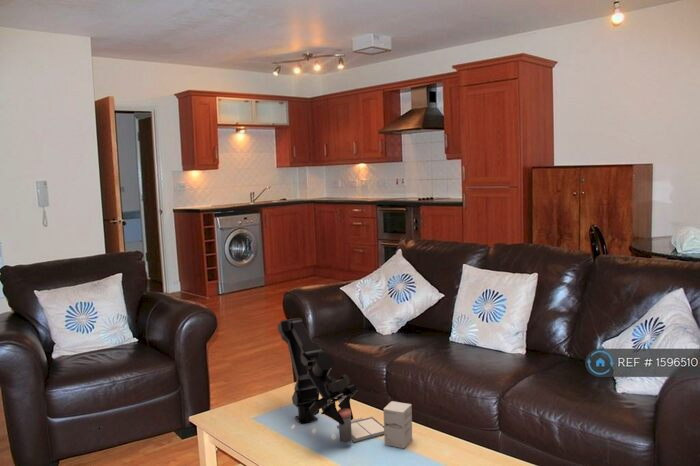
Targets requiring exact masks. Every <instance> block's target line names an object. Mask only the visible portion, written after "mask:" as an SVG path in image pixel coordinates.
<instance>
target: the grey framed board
mask: <svg viewBox="0 0 700 466" xmlns="http://www.w3.org/2000/svg"><path fill="white" fill-rule="evenodd" d="M336 428H337V429H338V430H339V424H338V425H337V426H336ZM351 431H352V441H351V442H352V443H354V444H358V443H360V442H364V441H368V440H371V439H376V438H380V437H383V435H384V424H382V423H381V422H379V421H378V420H377V419H376V418H374V416H370V417H366V418H362V417H359V418H355V419H354V418H353V420H351ZM379 436H380V437H379Z"/></svg>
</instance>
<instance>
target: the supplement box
mask: <svg viewBox="0 0 700 466" xmlns="http://www.w3.org/2000/svg"><path fill="white" fill-rule="evenodd" d="M412 405H413V404H411V403H405V402H399V401H393V400H391V401H390V402H389V403H388V404H387V405H386V406H385V407H384V408H383V426H384V438H383V439H384V446H390V447H395V448H400V449H403V448H405V447H406V448H407V447H408V445H409V444H410V443H411V442H412V441H411V440H413V416H412V415H413V414H412V413H413V412H412ZM410 441H411V442H410ZM409 442H410V443H409ZM408 443H409V444H408ZM406 448H405V449H406Z"/></svg>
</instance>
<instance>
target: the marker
mask: <svg viewBox="0 0 700 466" xmlns="http://www.w3.org/2000/svg"><path fill="white" fill-rule="evenodd" d="M351 410H352V409H351ZM351 410H350V409H348V408H342V409H340V408H339V409H338V410H337V411H338V412H339V414H340V416H341V417H342V419H343V421H344V424H343V425H342V424H340V423H338V425H339V429H338V430H339V442H341V443H343V444H344V443H350V442H352V431H351Z"/></svg>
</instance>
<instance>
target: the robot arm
mask: <svg viewBox="0 0 700 466" xmlns="http://www.w3.org/2000/svg"><path fill="white" fill-rule="evenodd" d="M277 330H278V333H279V335H280V337H281V339H282V341H283V342H285V343H286V344H287V347H288V351H289V355H290V360H291V363H292V367H293V370H294V374H295V379H296V382H295V384H294V389H293V393H292V394H293V395H292V396H291V400H292V404H293V406H295V408H297V413H298V415H296V416H295V419H296V420H297V421H298V422H299V423H300V424H301V425H304V424H307V423H312V422H316V421H318V417H317V416H316V415H318V414H321V415H324V416H327V417H328V418H330V419H332V420H334V421H335V422H337V423H338V424H339V423H340V424H342V425H343V424H344V421H343V419H342V417H341V416H340V414H339V412H338V410H337V407H338V408H339V409H342V408H348V409H350V410H351V420H354V413H353V411H352V407H351V398H352V397H354V395H355V394H356V393H358V391H359V389H358V387H357V386H356V384H351V380H350V377H349V376H348V375H347V374H343V375H341V376H339V379H338V380H336V379H335V378H334V377H332V378H331V377H330V376H329V374H330V371H331V370H332V368H333V366H334V359H333V358H332V356H330V355H329V354H326V352H325V351H324V350H323V349H322V348H321V347H320V345H319V344H317V343H316V342H314V341H313V340H312V338H311V336H310V334H309V333H308V330H307V328H305V325H304V321H303V318H300V317H297V318H290V319H283V320H280V322H279V323H277ZM310 366H312V367H310ZM307 367H310V368H308V369H307ZM349 384H350V385H349ZM320 397H321V398H320ZM336 402H339V404H338V405H336ZM320 409H321V411H322V412H320Z"/></svg>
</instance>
